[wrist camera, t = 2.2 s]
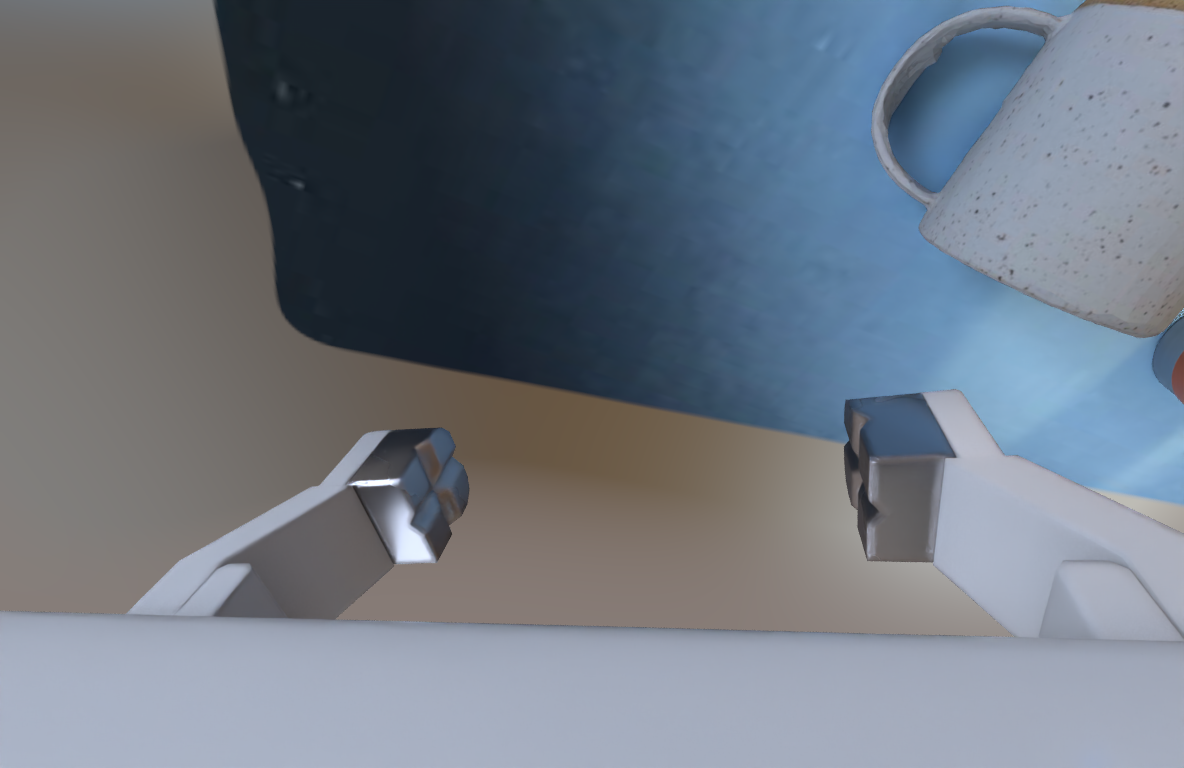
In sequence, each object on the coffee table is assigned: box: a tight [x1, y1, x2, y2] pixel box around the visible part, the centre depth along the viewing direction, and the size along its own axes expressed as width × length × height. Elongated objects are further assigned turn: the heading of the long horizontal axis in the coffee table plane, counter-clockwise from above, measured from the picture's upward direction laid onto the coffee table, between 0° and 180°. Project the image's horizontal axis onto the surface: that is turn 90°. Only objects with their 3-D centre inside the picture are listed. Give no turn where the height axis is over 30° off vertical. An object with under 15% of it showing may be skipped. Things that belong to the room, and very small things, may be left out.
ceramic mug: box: [871, 0, 1184, 338], centre depth 18 cm, size 11×8×8 cm
